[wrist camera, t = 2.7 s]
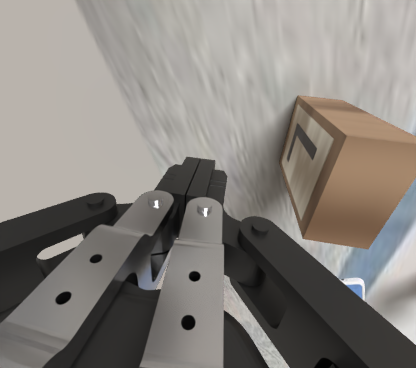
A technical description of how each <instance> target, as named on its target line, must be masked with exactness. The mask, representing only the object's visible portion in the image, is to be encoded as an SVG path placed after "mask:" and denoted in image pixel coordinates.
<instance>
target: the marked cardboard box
mask: <svg viewBox="0 0 416 368" xmlns="http://www.w3.org/2000/svg"><path fill="white" fill-rule="evenodd" d="M279 164H280V167H281V170H282V173H283V177H284V180H285V183H286V186H287V189H288V192H289V196H290V199H291V202H292V205H293V208H294V212H295V215H296V218H297V221H298V224H299V228H300V231H301V234H302V237H303V239H307V240H313V241H319V242H326V243H332V244H338V245H345V246H351V247H357V248H363V249H369V247H370V246H371V244H372V243H373V241H374V240H375V238H376V237H377V235H378V234H379V232H380V231H381V229H382V228H383V226H384V225H385V223H386V222H387V220H388V219H389V217H390V216H391V214H392V213H393V211H394V210H395V208H396V207H397V205H398V204H399V202H400V201H401V199H402V198H403V196H404V195H405V193H406V192H407V190H408V189H409V187H410V186H411V184H412V183H413V181H414V180H415V178H416V136H414V135H412V134H410V133H408V132H406V131H404V130H402V129H400V128H398V127H396V126H394V125H392V124H390V123H388V122H386V121H384V120H381V119H379V118H377V117H375V116H373V115H371V114H369V113H367V112H365V111H363V110H361V109H359V108H357V107H355V106H353V105H351V104H349V103H347V102H345V101H343V100H335V99H326V98H316V97H307V96H298V97H297V100H296V104H295V108H294V111H293V115H292V118H291V122H290V126H289V129H288V133H287V136H286V140H285V144H284V147H283V151H282V154H281V158H280V161H279Z"/></svg>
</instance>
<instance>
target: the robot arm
mask: <svg viewBox="0 0 416 368" xmlns="http://www.w3.org/2000/svg"><path fill="white" fill-rule="evenodd" d="M226 182H227V175H226V174H225V172H224V171H221V170H215V160H208V159H200V158H193V157H186V159H185V160H184V162H183V164H182V165H177V164H175V165H174V166H172V167H170V168H169V169H168V170H167V172H166V173H165V175H164V176H163V179H161V181H160V182H159V184H158V185H157V187H156V188H155V190H154V191H149V192H146V193H144V194H142V195H141V196H140V197H139V198H138V199H137V200H136V201H135V202H134V203H129V204H116V199H115V197H114V196H113V195H111V194H108V193H93V194H89V195H86V196H83V197H79V198H76V199H73V200H70V201H67V202H64V203H61V204H57V205H54V206H51V207H48V208H45V209H42V210H39V211H36V212H32V213H29V214H26V215H23V216H20V217H17V218H14V219H11V220H7V221H4V222H2V223H0V368H269V367H268V365H267V363H266V362H265V360H264V359H263V357H262V355H261V354H260V352H259V350H258V349H257V347H256V345H255V344H254V342H253V340H252V339H251V337H250V336H249V334H248V333H247V332H246V330H245V329H244V328H243V326H242V325H241V324H240V323H239V322H238V321H237V320H236V319H235V318H234V317H232V316H231V315H230V314H229V313H227V312H226V311H224V275H226V276H228V277H230V282H231V285H232V286H233V288H234V289H235V291H236V292H237V293H238V295H239V296H240V298H241V299H242V300H243V302H244V303H245V305H246V306H247V308H248V309H249V310H250V312H251V313H252V315H253V316H254V317H255V319H256V320H257V322H258V323H259V325H260V326H261V327H262V329H263V330H264V332H265V333H266V334H267V336H268V337H269V339H270V340H271V342H272V343H273V344H274V346H275V347H276V349H277V350H278V351H279V353H280V354H281V356H282V357H283V358H284V360H285V361H286V363H287V364H288V366H289V367H290V368H416V345H415V344H414V343H413V342H412V341H410V340H409V339H408V338H407V337H406V336H405V335H403V334H402V333H401V332H400V331H399V330H398V329H396V328H395V327H394V326H393V325H392V324H391V323H389V322H388V321H387V320H386V319H385V318H384V317H382V316H381V315H380V314H379V313H378V312H377V311H375V310H374V309H373V308H372V307H371V306H370V305H368V304H367V303H366V302H365V301H364V300H363V299H361V298H360V297H359V296H358V295H357V294H356V293H354V292H353V291H352V290H351V289H350V288H349V287H347V286H346V285H345V284H344V283H343V282H342V281H340V280H339V279H338V278H337V277H336V276H335V275H333V274H332V273H331V272H330V271H329V270H328V269H326V268H325V267H324V266H323V265H322V264H321V263H319V262H318V261H317V260H316V259H315V258H314V257H312V256H311V255H310V254H309V253H308V252H307V251H305V250H304V249H303V248H302V247H301V246H300V245H299V244H297V243H296V242H295V241H294V240H293V239H292V238H290V237H289V236H288V235H287V234H286V233H285V232H283V231H282V230H281V229H280V228H279V227H278V226H276V225H275V224H274V223H273V222H271V221H270V220H268V219H265V218H262V217H256V216H253V217H247V218H245V219H244V220H242V222H240V221H238V220H235V219H233V218H232V217H230V216H229V215H227V214H226V212H225V211H224V209H223V203H224V196H225V189H226ZM81 233H82V235H83V238H84V240H83V241H82V242H81V243H80V244H79V245H78V246H77V247H75V248H72V249H70V250H68V251H66V252H63V253H61V254H59V255H57V256H54V257H52V258H50V259H46V260H41V259H38V258H37V255H38V254H39V253H40V252H41V251H42V250H44V249H45V248H48V247H50V246H52V245H55V244H57V243H60V242H62V241H64V240H67V239H69V238H71V237H74V236H77V235H79V234H81ZM176 238H178V239H176ZM167 264H168V266H167ZM166 266H167V270H166V273H165V277H164V281H163V285H162V288H161V289H158V290H156V288H157V285H158V283H159V281H160V279H161V277H162V275H163V272H164V270H165V268H166Z"/></svg>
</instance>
